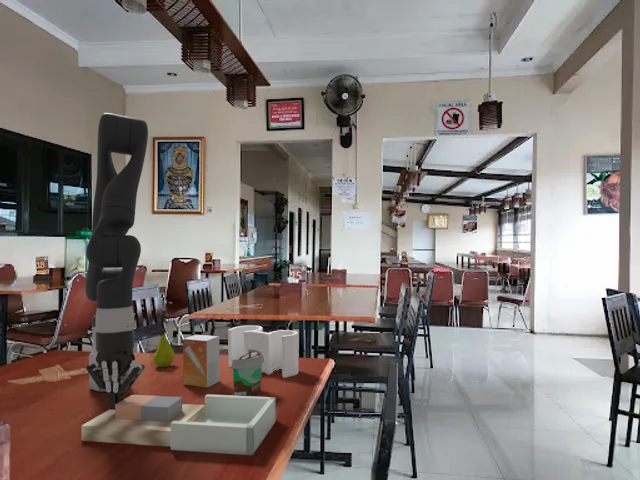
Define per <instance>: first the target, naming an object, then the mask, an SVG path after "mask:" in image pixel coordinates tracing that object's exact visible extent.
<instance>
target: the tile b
mask: <svg viewBox="0 0 640 480" xmlns="http://www.w3.org/2000/svg"><path fill="white" fill-rule="evenodd" d="M155 396H156V397H154V398H153V399H151V400H150V401H148V402H147V403H145V404H144V405H142V406H141V421H156V422H169V421H171V420H172V419H173V418H174V417H176V416H177V415H178V414H179V413H181V412H182V404H183V397H182V396H165V395H164V396H162V395H155Z"/></svg>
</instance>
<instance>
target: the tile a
mask: <svg viewBox="0 0 640 480" xmlns="http://www.w3.org/2000/svg"><path fill="white" fill-rule="evenodd" d="M156 396H157V395H147V394H146V395H145V394H131V395H129V396H127V397H126V398H124V400H122V401H120V402H119V403H117V404H115V419H127V420H141V406H142V405H144V404H145V403H147V402H148V401H150V400H151V399H153V398H154V397H156Z"/></svg>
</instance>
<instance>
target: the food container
mask: <svg viewBox="0 0 640 480" xmlns="http://www.w3.org/2000/svg"><path fill="white" fill-rule="evenodd" d="M262 363H264V357H263V354H262V352H261V351H258V350H251V349H248V354H246V355H244V356H241V357H240V358H239V359H238V360H232V367H231V369H232V375H233V377H232V378H233V380H232V381H233V393H234V395H233V396H255V397H257V395H259V394H260V393H261V384H262V372H261V371H262Z"/></svg>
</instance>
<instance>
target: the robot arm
mask: <svg viewBox="0 0 640 480" xmlns="http://www.w3.org/2000/svg"><path fill="white" fill-rule="evenodd" d="M148 128H149V127H148V123H147V122H146V121H145V120H143V119H140V118H137V117H132V116H126V115H123V114H122V115H121V114H116V113H111V112H110V113H109V112H104V113H102V115H101V116H100V119H99V122H98V128H97V153H96V154H97V163H96V164H97V165H96V166H97V167H96V170H97V171H96V183H95V190H94V197H93V207H92V208H93V209H92V219H91V220H92V222H91V236H90V237H89V238H90V239H89V241H88V243H87V245H86V249H85V250H86V251H85V255H86V260H87V261H88V265H87V271H86V278H85V294H86V295H85V296H86V297H87V299H88V300H89V301H91V302H96V312H95V314H94V315H93V316H92V319H91V323H92V324H91V326H92V327H91V329H92V334H91V335H92V353H89V356H88V365H86V367H85V368H86V371H87V372H88V374H89V376H88V378H89V390H93V391H95V392H107V407H108V408H109V409H108V410H115V404H117V403H119V402H120V401H122V400H124V399H125V398H124V394H125V393H124V392H125V390H127V389H128V388H131V387H132V386H133V385H134V384H135V382H136V381H137V379H138V378H139V377H140V375H141V374H142V372H143V371H144V369H145V367H146V366H145V365H144V364H139V363H138V362H137V360H136V356H135V354H134V347H135V313H134V309H133V308H134V307H133V287H134V279H135V275H136V271H137V267H138V264H139V261H140V258H141V253H142V252H141V251H142V247H141V242H140V240H138V238H137V237H136V236H134V235H130V234H128V232H129V231H130V229H131V228H133V227H134V225H135V219H136V206H137V194H138V190H139V186H140V181H141V177H142V173H143V169H144V168H143V167H144V163H145V157H146V153H147V147H148V139H149V129H148ZM112 153H114V154H121V155H126V156H127V155H128V156H130V157H129V158H130V159H129V160H128V163H127V164H126V165H125V166H124V167H123V168H122V169H121V171H119V172H117V171H116V168H115V165H114V162H113V156H112Z"/></svg>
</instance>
